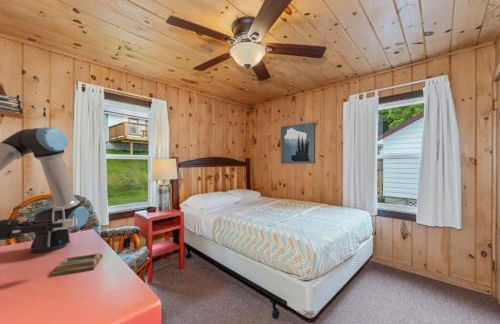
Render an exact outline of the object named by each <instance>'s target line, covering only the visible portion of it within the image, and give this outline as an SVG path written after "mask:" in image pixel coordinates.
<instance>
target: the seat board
mask: <svg viewBox="0 0 500 324" xmlns="http://www.w3.org/2000/svg"><path fill="white" fill-rule="evenodd" d="M102 258H103V253H102V254H101V253H100V252H99V253H93V254H85V255H79V256H71V257H65V258H63V260H62V261H61V262H60V263H58V265H56V266H55V270H54V271H52V272H51V278H52V277H53V278H54V277H57V276H62V275H63V276H64V275H65V276H66V275H71V274H76V273H82V272H87V271H88V272H89V271H93V270H95V268H96V267H97V265H98V264H99V263H100V261H101V260H102Z"/></svg>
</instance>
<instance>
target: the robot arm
mask: <svg viewBox="0 0 500 324" xmlns="http://www.w3.org/2000/svg"><path fill="white" fill-rule="evenodd" d="M67 145H68V138H67V136H66V135H65V134H64V132H63V131H61V130H59V129H58V128H56V127H47V126H45V127H37V128H25V129H21V130H18V131H16V132H14V133H13V134H11V135H9V136H7V138H5V139H4V140H2V141H0V172H1V171H2V170H3V169H5V168H6V167H7V166H9V165H10V164H11V163H13V161H15V160H20V159H21V158H23V157H24V156H25V155H28V154H33V157H34V159H36V160H39V162H40V165H41V167H42V169H43V170H42V171H43V172H44V173H43V174H44V176H45V179H46V182H47V185H48V188H49V191H50V193H51V196H52V199H53V203H54V205H53V204H52V205H46V206H42V207H40V206H39V207H37V208H35V209H34V212H33V213H34V214H33V217H34V218H33V219H34V220H30V221H22V222H20V223H19V222H18V221H17V219H15V218H8V219H0V241H5V240H12V239H14V238H16V236H17V235H23V234H25V235H26V234H32V233H34V237H33V239H32V243H31V245H30V248H29V250H30V251H29V253H32V254H38V253H39V254H41V253H42V254H43V253H47V252H53V251H56V250H60V249H63V248H65V247H66V246H68V243H66V244H63V245H58V246H53V247H48V246H47V243H48V231H49V232H51V231H52V228H53V229H59V228H68V229H69V231H71V230H78V229H80V228H82V227H83V226H84V225H86V224H87V221H88V220H89V216H90V211H89V209H88V208H87V207H86V206H82V204H81V202H80V200H78V199H76V196H75V194H74V191H73V187H72V184H71V181H70V177H69V174H68V171H67V168H66V164H65V161H64V158H63V156H64V154H65V153H66V152H65V149H66V148H67ZM56 207H62V208H63V209H64V212H65V221H63V215H62V209H56V210H55V211H54V222H53V224H52V210H53V209H54V208H56Z"/></svg>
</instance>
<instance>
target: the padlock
mask: <svg viewBox="0 0 500 324" xmlns="http://www.w3.org/2000/svg"><path fill="white" fill-rule="evenodd" d="M56 209H62V215H63V221H65V212H64V209H63V208H62V207H56V208H54V209H53V210H52V224H53V222H54V211H55V210H56ZM66 243H67V244H70V243H71V237H70V229H68V228H59V229H53V228H52V231H51V232H49V231H48V243H47V246H48V247H53V246H58V245H63V244H66Z"/></svg>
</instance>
